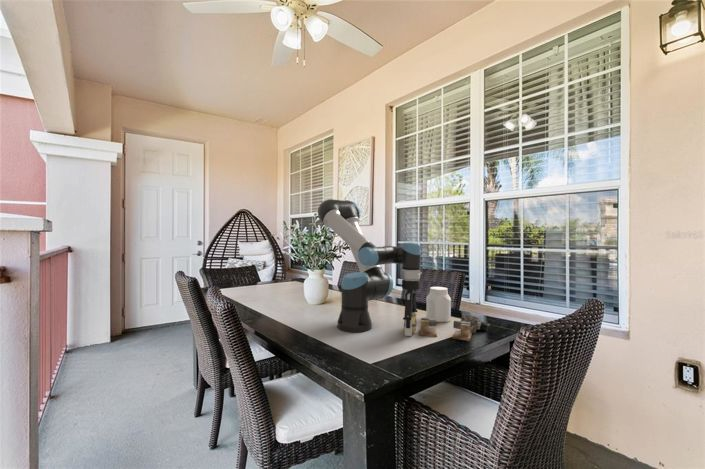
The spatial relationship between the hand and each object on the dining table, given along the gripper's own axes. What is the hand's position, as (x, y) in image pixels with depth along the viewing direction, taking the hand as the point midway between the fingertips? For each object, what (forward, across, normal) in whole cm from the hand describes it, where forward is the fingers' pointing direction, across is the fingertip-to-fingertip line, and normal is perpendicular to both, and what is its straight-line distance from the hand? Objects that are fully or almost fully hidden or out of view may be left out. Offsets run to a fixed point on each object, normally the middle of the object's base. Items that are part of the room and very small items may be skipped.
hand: (410, 331), depth 138 cm
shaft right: (0, +1, -20) cm, 20 cm away
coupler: (0, 0, 0) cm, 0 cm away
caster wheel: (+1, +13, -25) cm, 28 cm away
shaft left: (0, +1, -7) cm, 7 cm away
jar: (0, +24, -10) cm, 26 cm away
